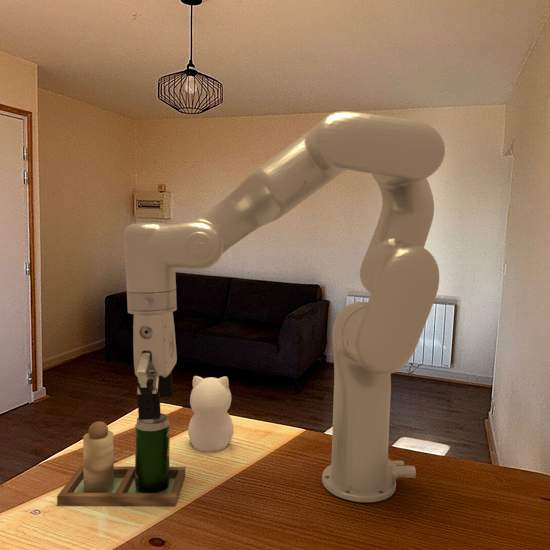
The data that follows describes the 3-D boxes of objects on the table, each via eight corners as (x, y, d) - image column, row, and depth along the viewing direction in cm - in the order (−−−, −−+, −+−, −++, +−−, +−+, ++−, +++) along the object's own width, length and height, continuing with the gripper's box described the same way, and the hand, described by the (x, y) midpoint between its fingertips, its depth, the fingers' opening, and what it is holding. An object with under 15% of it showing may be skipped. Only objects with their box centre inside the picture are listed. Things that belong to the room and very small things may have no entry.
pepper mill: (117, 482, 82) (116, 416, 81) (108, 496, 78) (108, 427, 77) (89, 481, 82) (88, 416, 81) (79, 496, 78) (78, 427, 77)
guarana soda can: (141, 502, 76) (141, 427, 75) (131, 486, 81) (130, 415, 80) (174, 492, 79) (174, 420, 78) (162, 478, 84) (162, 410, 83)
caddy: (185, 480, 85) (185, 466, 85) (175, 511, 76) (175, 496, 75) (80, 479, 85) (80, 466, 84) (57, 511, 75) (57, 496, 75)
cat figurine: (183, 459, 93) (183, 382, 92) (193, 431, 106) (194, 363, 104) (231, 460, 93) (232, 383, 92) (235, 432, 106) (236, 364, 104)
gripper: (165, 310, 69) (170, 428, 70) (184, 293, 86) (188, 388, 88) (111, 311, 69) (117, 429, 70) (141, 294, 86) (146, 390, 88)
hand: (156, 406), depth 79 cm, fingers open, 9 cm apart
